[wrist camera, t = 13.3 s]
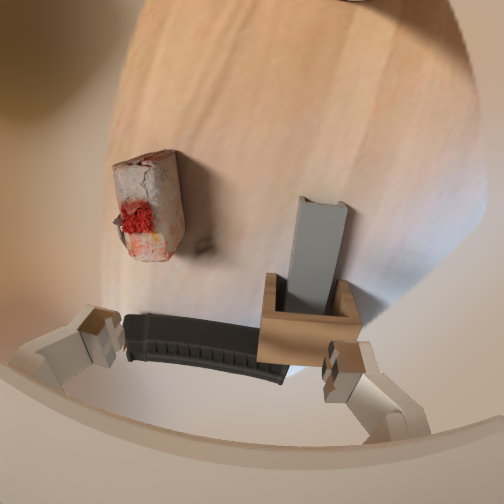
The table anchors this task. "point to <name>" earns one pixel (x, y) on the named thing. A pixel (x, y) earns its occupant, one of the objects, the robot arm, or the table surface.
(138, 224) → the food item
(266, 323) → the wooden arch
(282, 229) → the table surface
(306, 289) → the grey channel riser
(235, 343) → the magazine
